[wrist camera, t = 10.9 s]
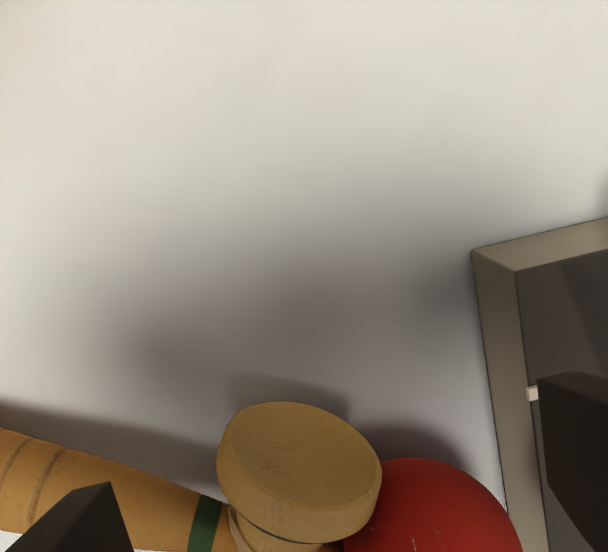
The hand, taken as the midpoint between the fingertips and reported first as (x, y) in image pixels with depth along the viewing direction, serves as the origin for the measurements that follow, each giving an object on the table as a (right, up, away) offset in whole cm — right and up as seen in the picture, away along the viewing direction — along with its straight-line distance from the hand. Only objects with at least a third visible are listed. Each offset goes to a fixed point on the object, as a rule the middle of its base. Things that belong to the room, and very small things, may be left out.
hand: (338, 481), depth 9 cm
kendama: (-4, -3, +9) cm, 10 cm away
